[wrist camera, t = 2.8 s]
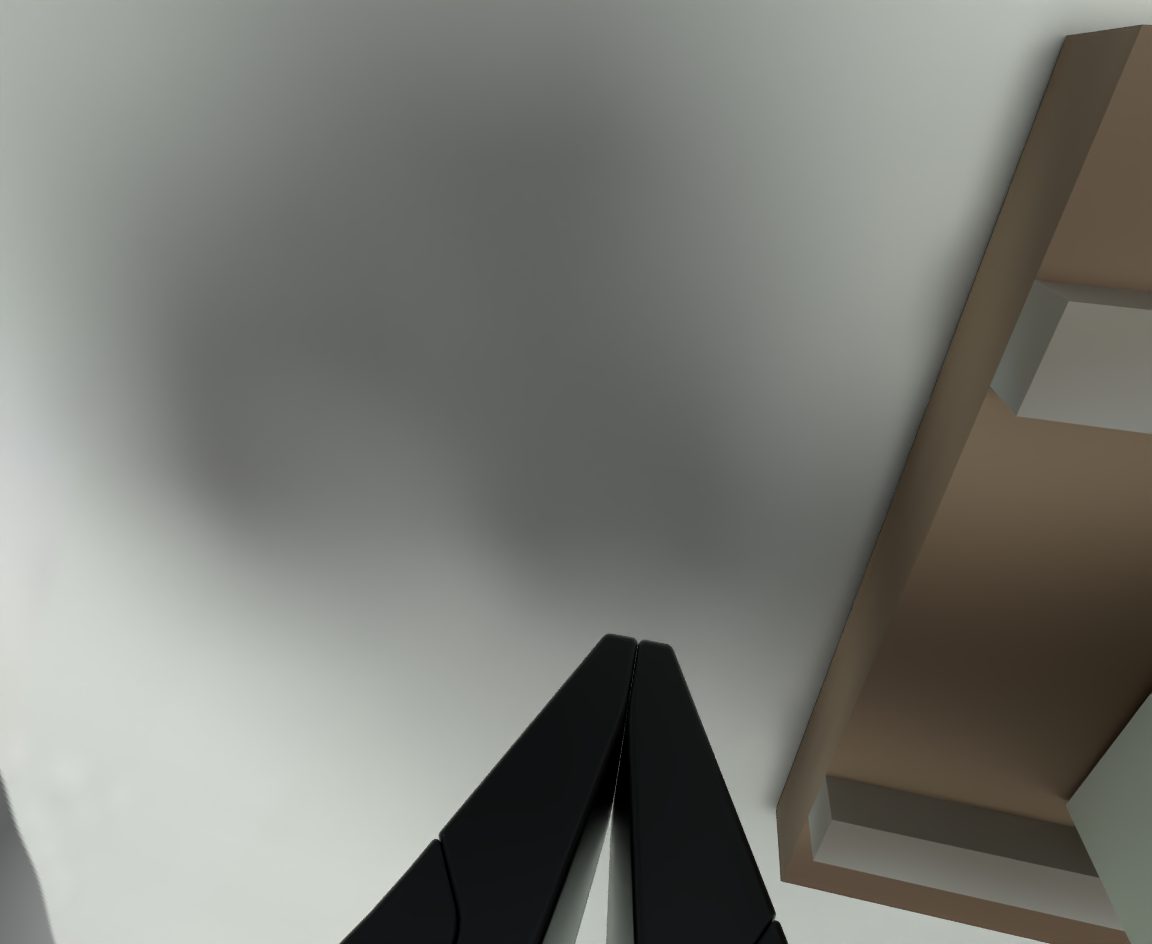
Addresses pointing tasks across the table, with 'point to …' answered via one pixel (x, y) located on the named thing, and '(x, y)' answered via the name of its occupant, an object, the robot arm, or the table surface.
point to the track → (1008, 556)
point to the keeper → (1122, 823)
